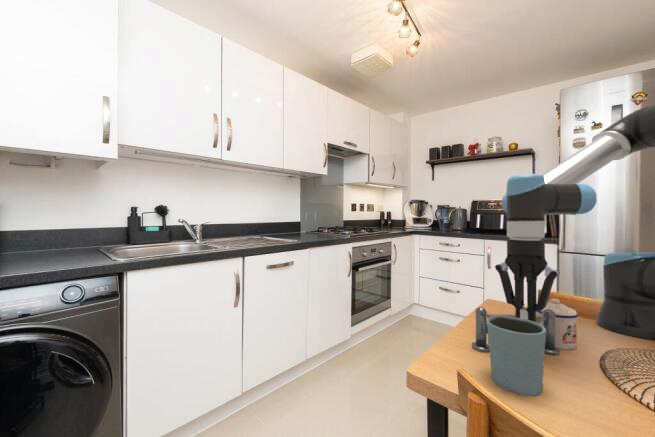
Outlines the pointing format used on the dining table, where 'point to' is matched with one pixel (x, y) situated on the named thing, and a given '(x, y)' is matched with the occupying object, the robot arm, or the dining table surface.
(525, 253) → the robot arm
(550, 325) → the hinge post
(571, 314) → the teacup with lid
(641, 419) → the dining table surface
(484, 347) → the post
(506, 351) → the blue-grey pot
